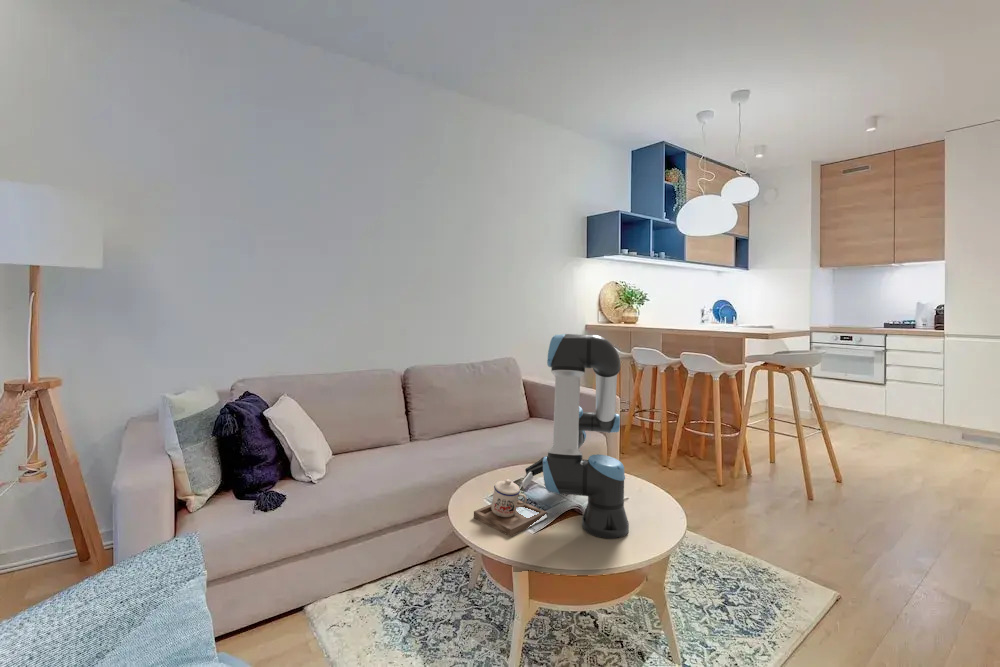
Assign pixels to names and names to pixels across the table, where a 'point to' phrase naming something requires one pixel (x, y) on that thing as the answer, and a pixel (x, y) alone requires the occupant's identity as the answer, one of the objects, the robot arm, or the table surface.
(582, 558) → the table surface
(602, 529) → the robot arm
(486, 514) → the tray
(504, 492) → the teacup with lid
